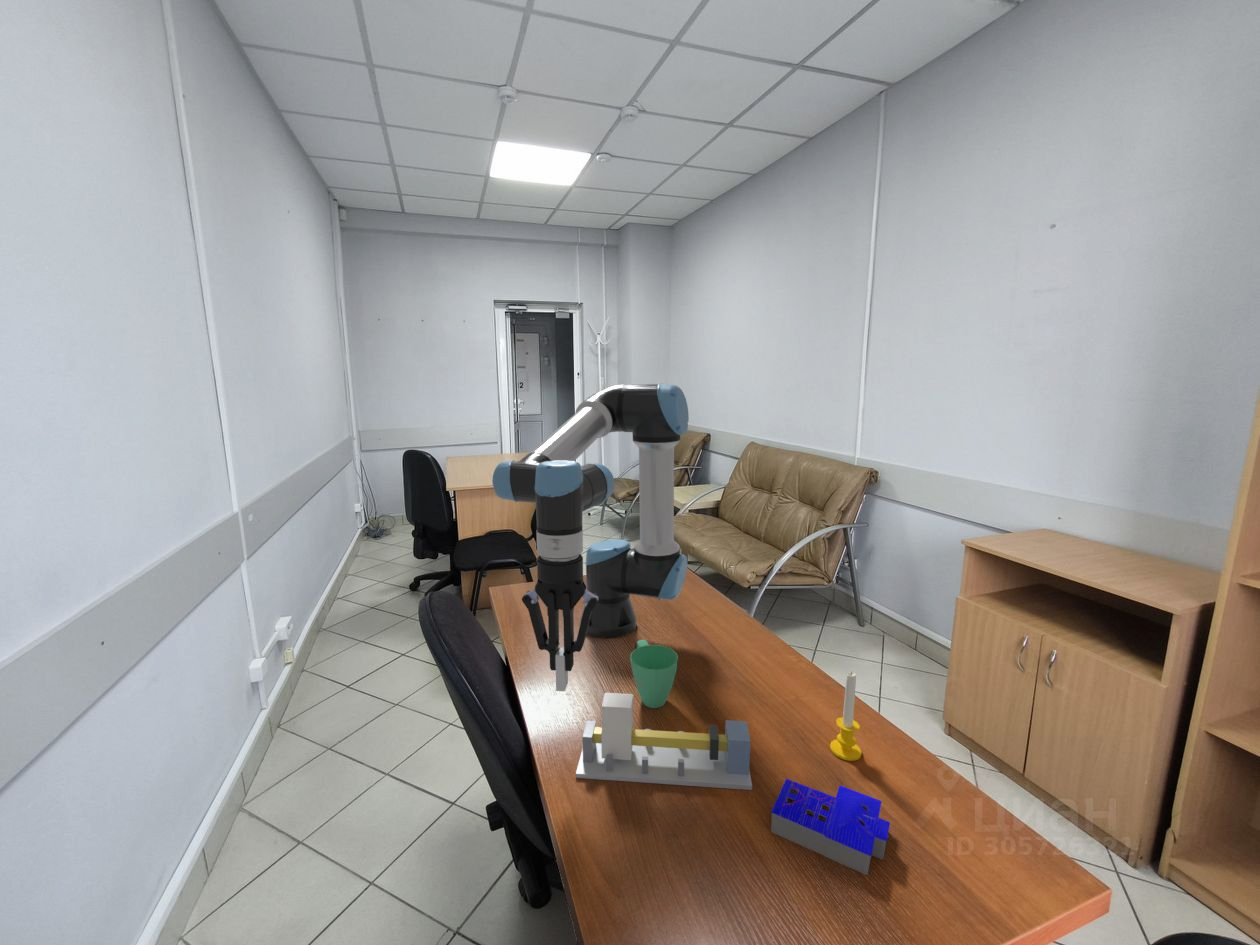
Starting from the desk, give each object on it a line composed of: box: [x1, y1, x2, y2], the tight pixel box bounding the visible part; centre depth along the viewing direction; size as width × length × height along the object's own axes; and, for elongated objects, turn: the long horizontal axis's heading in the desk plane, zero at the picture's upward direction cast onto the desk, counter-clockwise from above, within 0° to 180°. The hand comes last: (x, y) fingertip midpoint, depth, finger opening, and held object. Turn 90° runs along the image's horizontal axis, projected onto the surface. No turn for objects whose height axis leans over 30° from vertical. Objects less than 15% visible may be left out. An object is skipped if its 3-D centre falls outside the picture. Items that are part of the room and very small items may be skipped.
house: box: [770, 778, 891, 876], centre depth 78 cm, size 11×15×5 cm
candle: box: [829, 671, 863, 762], centre depth 94 cm, size 5×5×16 cm
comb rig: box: [575, 719, 753, 791], centre depth 91 cm, size 29×10×7 cm, turn 85°
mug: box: [629, 639, 679, 709], centre depth 111 cm, size 15×10×10 cm
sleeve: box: [601, 692, 634, 760], centre depth 92 cm, size 5×5×9 cm
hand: (562, 686), depth 91 cm, fingers closed
